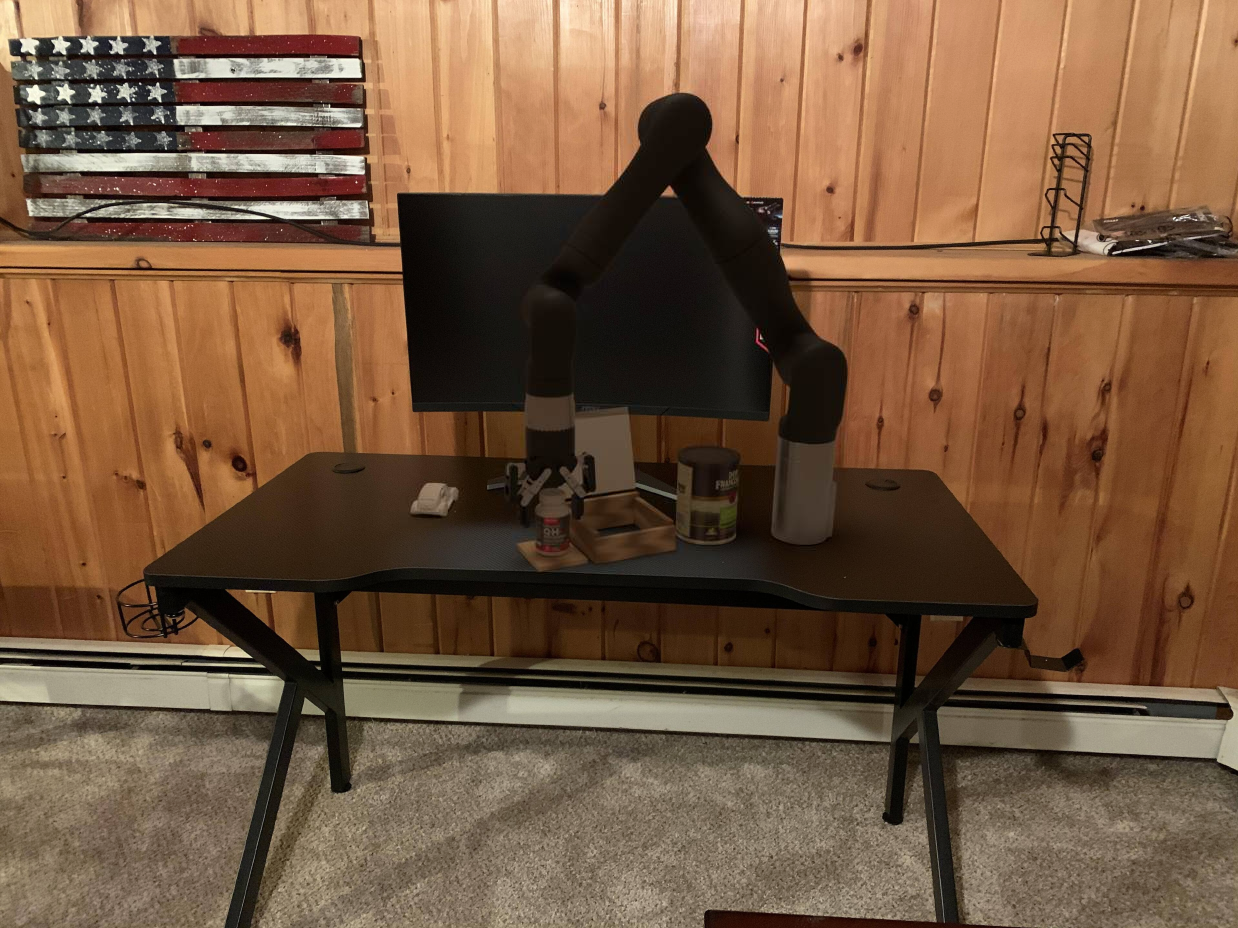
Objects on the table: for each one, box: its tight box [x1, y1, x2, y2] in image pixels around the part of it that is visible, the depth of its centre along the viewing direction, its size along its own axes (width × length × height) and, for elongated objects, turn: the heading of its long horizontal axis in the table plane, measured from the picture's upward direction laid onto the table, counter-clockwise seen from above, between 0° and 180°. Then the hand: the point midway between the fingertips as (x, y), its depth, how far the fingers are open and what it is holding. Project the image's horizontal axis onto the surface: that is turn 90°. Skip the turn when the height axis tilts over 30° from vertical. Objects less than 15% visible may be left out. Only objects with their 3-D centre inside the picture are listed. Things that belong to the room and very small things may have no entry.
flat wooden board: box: [515, 540, 589, 573], centre depth 145 cm, size 8×10×1 cm
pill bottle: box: [534, 488, 571, 556], centre depth 143 cm, size 5×5×10 cm
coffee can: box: [675, 444, 742, 546], centre depth 152 cm, size 10×10×14 cm
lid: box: [558, 406, 637, 499], centre depth 155 cm, size 14×14×1 cm
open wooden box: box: [564, 490, 677, 565], centre depth 150 cm, size 14×14×5 cm
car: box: [409, 482, 460, 517], centre depth 165 cm, size 12×6×5 cm, turn 173°
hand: (551, 522), depth 143 cm, fingers open, 8 cm apart
